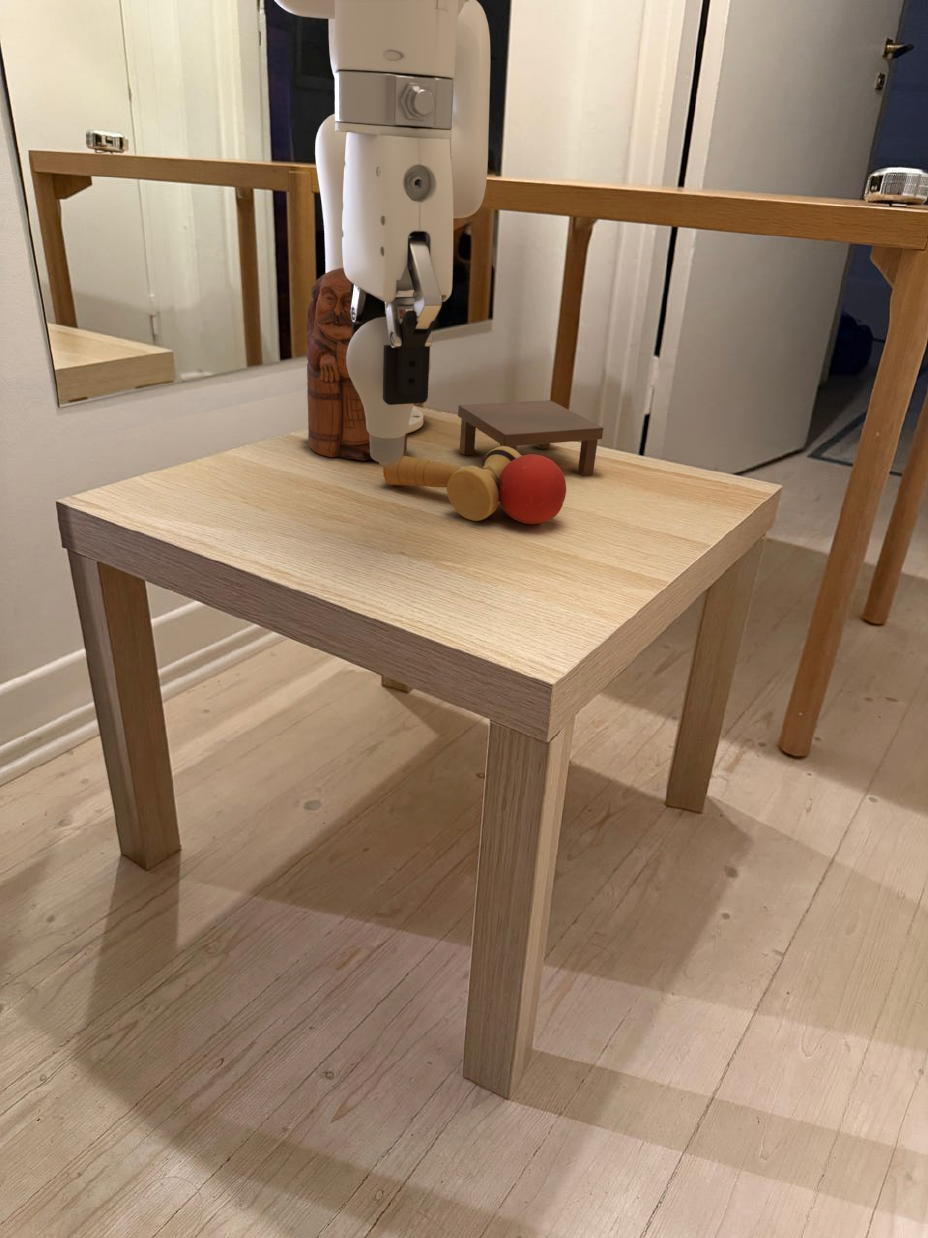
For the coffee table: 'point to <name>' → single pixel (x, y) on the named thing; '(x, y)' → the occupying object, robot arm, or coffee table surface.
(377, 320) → the lightbulb
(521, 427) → the desk
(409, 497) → the coffee table surface
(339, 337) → the wooden figurine
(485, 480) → the kendama
